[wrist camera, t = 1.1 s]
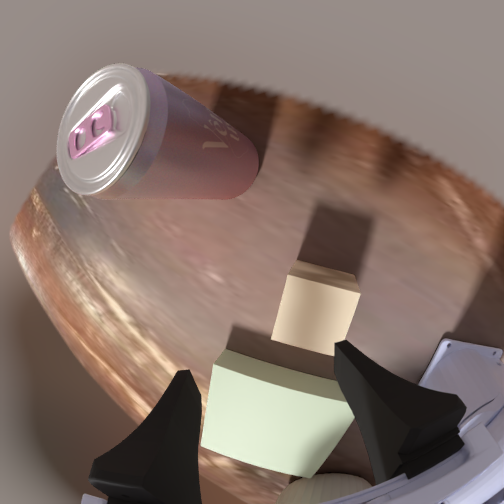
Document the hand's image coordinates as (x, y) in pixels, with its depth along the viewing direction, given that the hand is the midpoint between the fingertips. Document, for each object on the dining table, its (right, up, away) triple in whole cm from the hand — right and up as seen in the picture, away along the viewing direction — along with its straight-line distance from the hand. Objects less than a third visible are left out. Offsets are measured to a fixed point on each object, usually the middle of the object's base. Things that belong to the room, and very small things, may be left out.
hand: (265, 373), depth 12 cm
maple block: (+5, +2, +10) cm, 11 cm away
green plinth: (+2, -12, +13) cm, 18 cm away
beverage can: (-3, +13, +10) cm, 17 cm away
